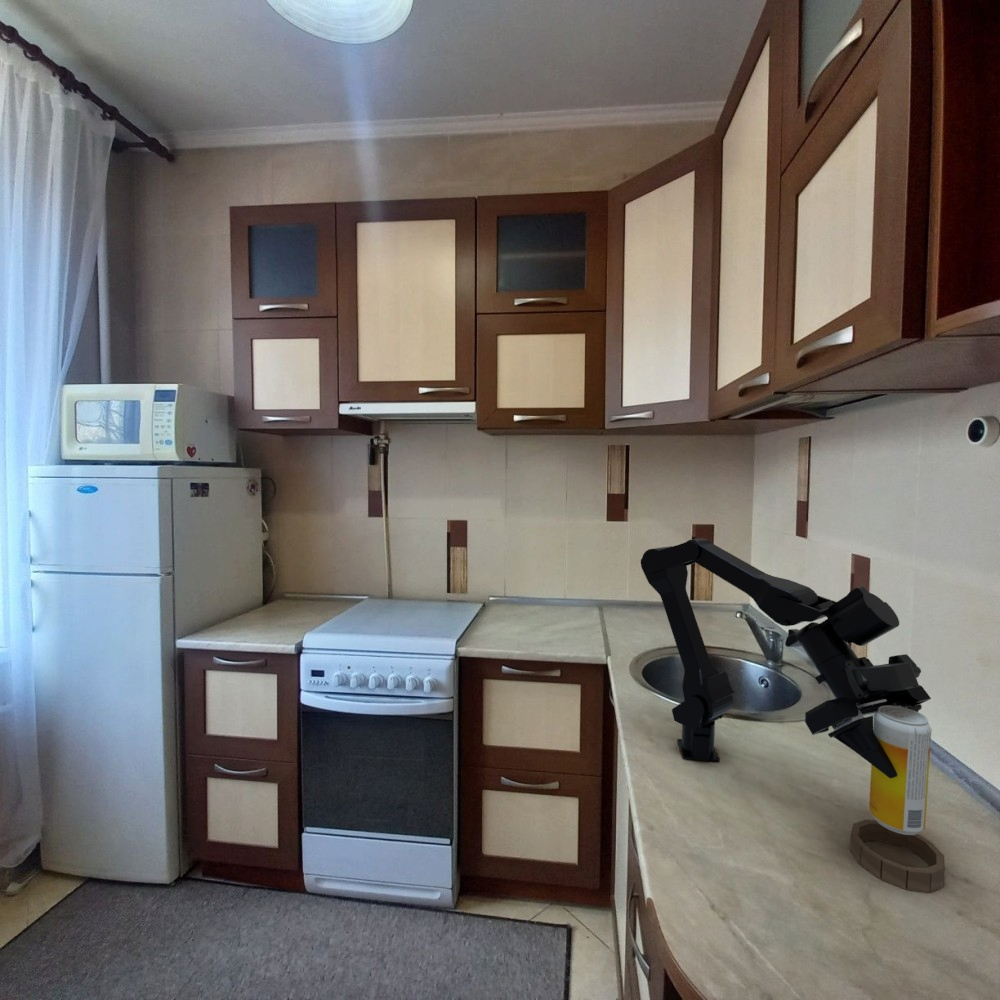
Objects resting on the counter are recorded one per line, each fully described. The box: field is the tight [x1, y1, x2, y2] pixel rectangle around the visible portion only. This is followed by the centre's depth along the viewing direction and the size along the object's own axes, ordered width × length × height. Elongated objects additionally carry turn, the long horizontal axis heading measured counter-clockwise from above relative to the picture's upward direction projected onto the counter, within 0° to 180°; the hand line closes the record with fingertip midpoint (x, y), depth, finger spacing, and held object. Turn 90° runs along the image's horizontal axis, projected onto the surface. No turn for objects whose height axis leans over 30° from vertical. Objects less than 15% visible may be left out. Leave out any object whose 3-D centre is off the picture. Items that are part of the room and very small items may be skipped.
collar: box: [849, 819, 946, 893], centre depth 72 cm, size 10×10×2 cm
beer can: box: [868, 705, 932, 835], centre depth 71 cm, size 6×6×15 cm
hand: (910, 772), depth 70 cm, fingers closed on beer can, 6 cm apart
